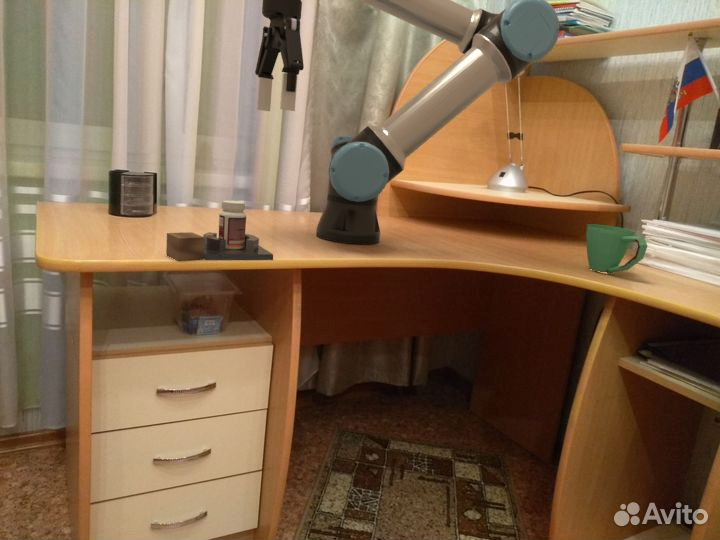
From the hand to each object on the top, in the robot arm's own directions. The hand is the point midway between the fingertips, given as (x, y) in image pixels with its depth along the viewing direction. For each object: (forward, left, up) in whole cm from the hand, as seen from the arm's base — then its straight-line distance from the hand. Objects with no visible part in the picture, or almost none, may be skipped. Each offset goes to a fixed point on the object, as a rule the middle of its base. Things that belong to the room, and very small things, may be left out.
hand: (274, 110), depth 110 cm
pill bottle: (+11, +12, -26) cm, 31 cm away
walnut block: (+20, +16, -27) cm, 37 cm away
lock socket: (+11, +12, -27) cm, 31 cm away
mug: (-68, +34, -27) cm, 81 cm away
